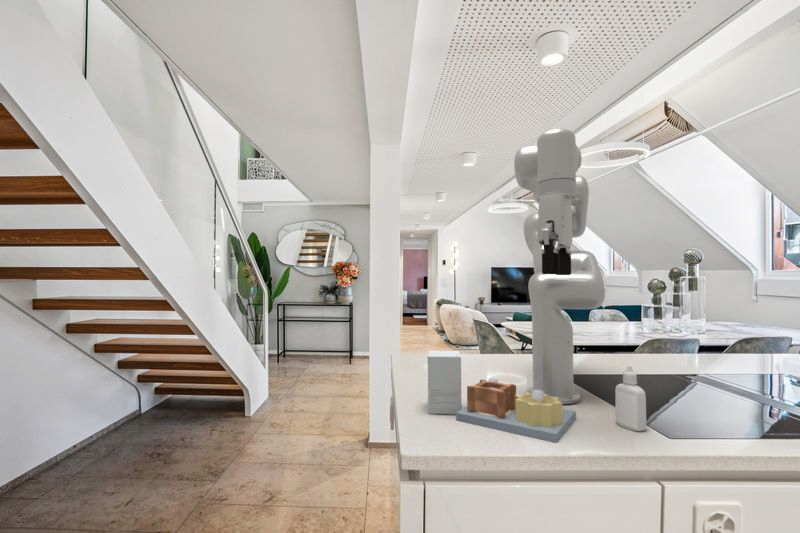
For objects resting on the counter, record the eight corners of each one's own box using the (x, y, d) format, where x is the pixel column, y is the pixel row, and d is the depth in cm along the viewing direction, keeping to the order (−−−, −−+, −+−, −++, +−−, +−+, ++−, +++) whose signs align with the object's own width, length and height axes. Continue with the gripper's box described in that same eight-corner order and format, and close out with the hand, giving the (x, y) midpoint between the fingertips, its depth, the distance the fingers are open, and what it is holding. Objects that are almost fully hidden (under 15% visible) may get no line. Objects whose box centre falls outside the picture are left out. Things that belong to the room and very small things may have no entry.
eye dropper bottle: (624, 431, 77) (623, 368, 78) (613, 421, 83) (612, 363, 83) (649, 432, 77) (647, 369, 77) (636, 422, 82) (635, 363, 83)
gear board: (486, 401, 96) (486, 372, 96) (575, 418, 85) (575, 384, 85) (456, 420, 83) (456, 385, 83) (556, 442, 72) (556, 403, 72)
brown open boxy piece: (517, 408, 86) (517, 384, 86) (503, 418, 79) (503, 393, 79) (481, 401, 91) (481, 379, 91) (465, 410, 84) (465, 386, 84)
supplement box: (460, 405, 93) (460, 350, 94) (461, 415, 86) (461, 356, 87) (428, 403, 94) (428, 349, 95) (427, 414, 87) (427, 355, 87)
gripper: (549, 201, 92) (549, 275, 91) (524, 186, 78) (525, 273, 77) (584, 197, 88) (585, 275, 87) (565, 180, 74) (566, 273, 73)
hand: (557, 274), depth 82 cm, fingers open, 9 cm apart
